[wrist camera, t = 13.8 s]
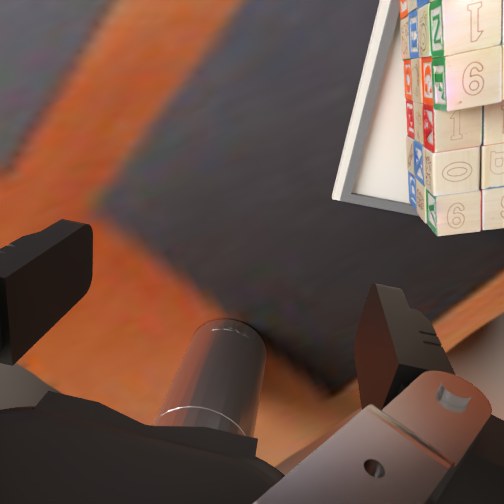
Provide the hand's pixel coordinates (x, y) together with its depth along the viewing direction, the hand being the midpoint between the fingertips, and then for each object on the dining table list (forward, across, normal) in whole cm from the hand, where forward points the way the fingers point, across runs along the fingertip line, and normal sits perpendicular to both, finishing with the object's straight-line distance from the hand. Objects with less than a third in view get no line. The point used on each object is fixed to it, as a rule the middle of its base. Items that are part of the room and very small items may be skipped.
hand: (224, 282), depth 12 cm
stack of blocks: (+29, -12, -7) cm, 32 cm away
